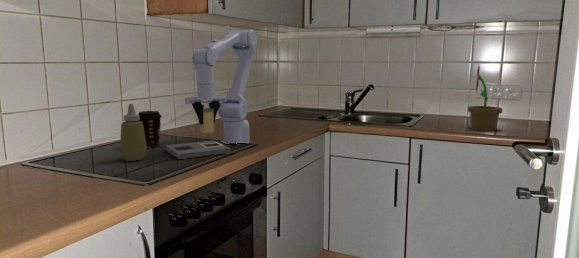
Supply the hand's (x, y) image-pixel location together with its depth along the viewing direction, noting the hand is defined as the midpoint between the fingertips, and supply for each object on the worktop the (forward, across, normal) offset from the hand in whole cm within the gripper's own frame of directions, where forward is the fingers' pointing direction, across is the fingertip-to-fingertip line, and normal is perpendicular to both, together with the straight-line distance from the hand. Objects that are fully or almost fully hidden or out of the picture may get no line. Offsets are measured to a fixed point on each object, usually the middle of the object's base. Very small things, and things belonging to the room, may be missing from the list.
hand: (206, 123), depth 145 cm
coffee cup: (+10, +14, -19) cm, 26 cm away
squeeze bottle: (+10, +25, -2) cm, 27 cm away
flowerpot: (+11, -125, +26) cm, 128 cm away
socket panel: (+10, +4, 0) cm, 11 cm away
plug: (+3, 0, 0) cm, 3 cm away
